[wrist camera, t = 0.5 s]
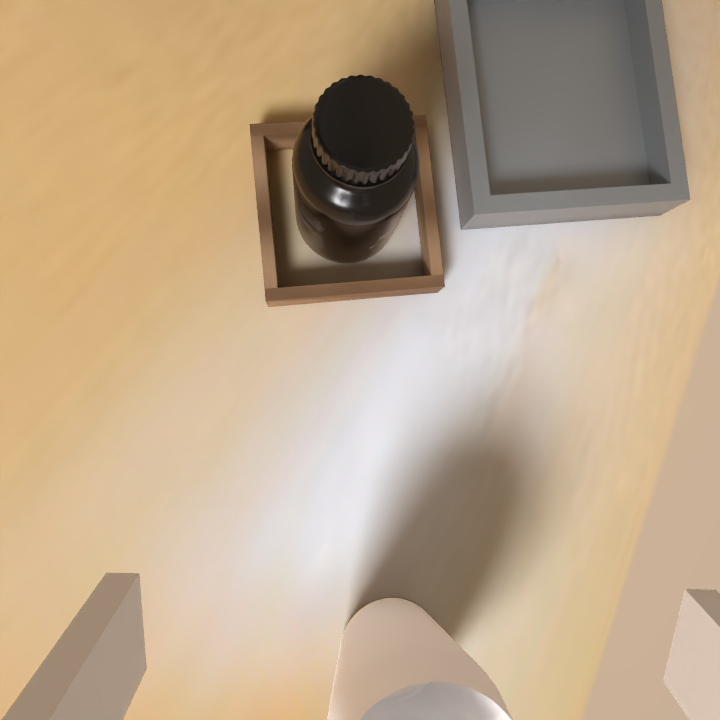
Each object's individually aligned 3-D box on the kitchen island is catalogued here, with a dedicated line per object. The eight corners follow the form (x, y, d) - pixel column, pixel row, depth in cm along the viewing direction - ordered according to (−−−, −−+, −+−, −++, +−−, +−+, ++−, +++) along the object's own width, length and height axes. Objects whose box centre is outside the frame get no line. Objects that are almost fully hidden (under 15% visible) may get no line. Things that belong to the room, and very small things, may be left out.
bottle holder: (253, 139, 35) (249, 124, 33) (419, 130, 36) (425, 115, 34) (268, 306, 34) (265, 301, 32) (437, 292, 35) (444, 286, 33)
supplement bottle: (396, 265, 35) (438, 199, 23) (296, 265, 35) (288, 197, 23) (393, 169, 36) (434, 55, 24) (295, 167, 35) (286, 49, 23)
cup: (299, 615, 33) (291, 738, 21) (424, 555, 34) (485, 640, 22) (354, 746, 33) (377, 946, 21) (478, 681, 34) (569, 837, 22)
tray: (434, -1, 37) (445, -36, 34) (629, -6, 38) (655, -40, 35) (461, 229, 36) (474, 214, 33) (660, 215, 37) (690, 199, 34)
